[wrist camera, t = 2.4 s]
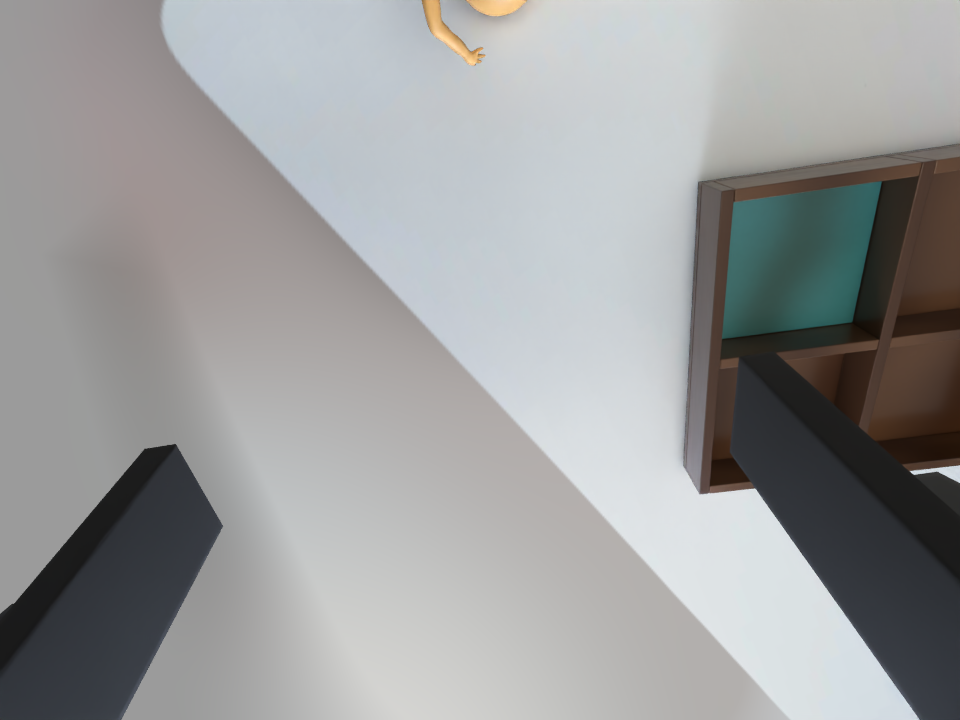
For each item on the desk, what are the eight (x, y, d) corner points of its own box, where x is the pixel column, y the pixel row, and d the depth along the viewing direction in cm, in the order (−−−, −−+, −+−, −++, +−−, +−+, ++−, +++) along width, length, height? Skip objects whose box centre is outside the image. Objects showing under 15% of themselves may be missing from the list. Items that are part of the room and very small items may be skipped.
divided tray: (683, 466, 39) (699, 494, 37) (698, 181, 30) (721, 191, 27) (969, 432, 38) (1008, 460, 35) (1081, 125, 29) (1148, 129, 26)
